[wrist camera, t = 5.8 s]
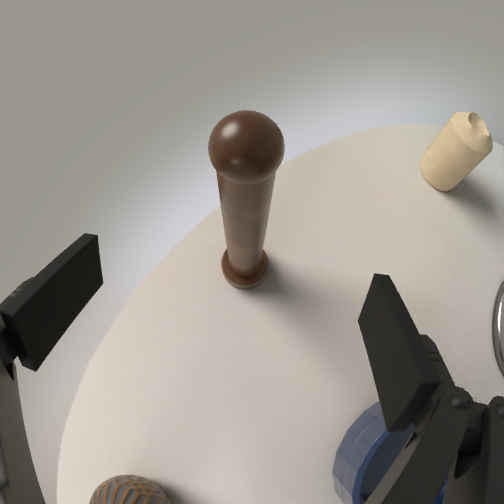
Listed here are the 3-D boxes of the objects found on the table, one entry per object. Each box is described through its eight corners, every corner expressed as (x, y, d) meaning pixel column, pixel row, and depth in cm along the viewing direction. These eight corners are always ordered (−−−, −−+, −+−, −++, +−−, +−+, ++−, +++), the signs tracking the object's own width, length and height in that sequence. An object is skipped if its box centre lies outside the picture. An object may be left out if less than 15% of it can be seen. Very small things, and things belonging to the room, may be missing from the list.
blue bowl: (424, 363, 26) (463, 361, 20) (465, 457, 23) (502, 469, 16) (305, 443, 24) (322, 466, 18) (362, 534, 20) (385, 564, 14)
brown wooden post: (253, 239, 30) (267, 76, 12) (274, 276, 29) (324, 143, 11) (215, 258, 29) (175, 108, 11) (235, 297, 28) (219, 187, 10)
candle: (461, 189, 33) (507, 145, 23) (431, 194, 32) (478, 146, 23) (442, 152, 34) (481, 104, 25) (411, 155, 34) (449, 102, 24)
